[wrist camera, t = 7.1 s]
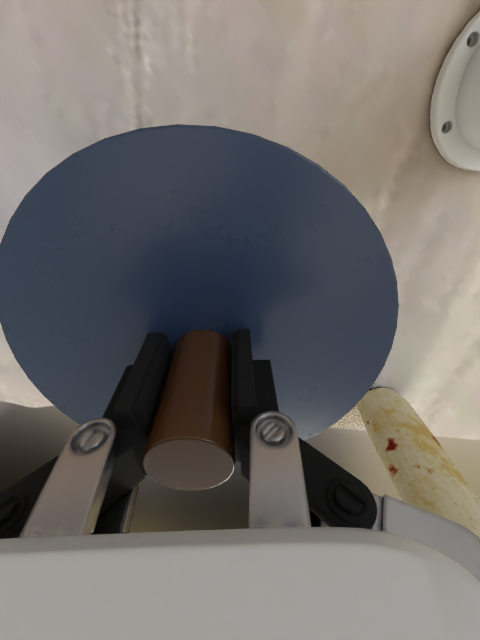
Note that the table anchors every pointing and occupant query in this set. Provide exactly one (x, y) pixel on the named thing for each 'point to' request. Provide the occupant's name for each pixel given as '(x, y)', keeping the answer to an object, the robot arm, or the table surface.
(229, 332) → the lid
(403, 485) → the food model
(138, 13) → the table surface
